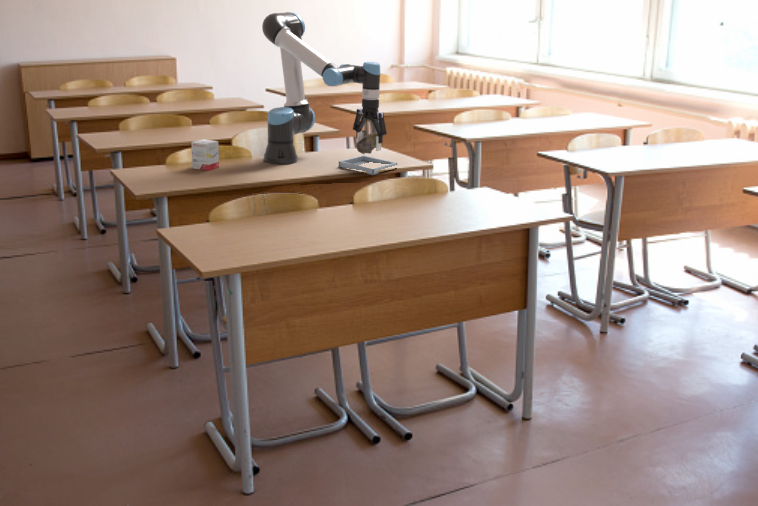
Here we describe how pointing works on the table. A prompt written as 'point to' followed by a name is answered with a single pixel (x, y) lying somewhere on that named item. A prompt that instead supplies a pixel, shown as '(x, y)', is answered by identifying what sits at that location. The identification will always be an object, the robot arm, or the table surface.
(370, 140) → the rock
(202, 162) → the ink box
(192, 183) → the table surface
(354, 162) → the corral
